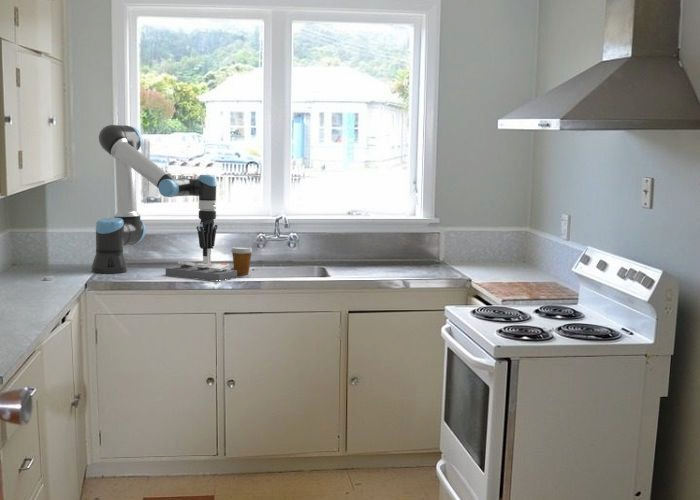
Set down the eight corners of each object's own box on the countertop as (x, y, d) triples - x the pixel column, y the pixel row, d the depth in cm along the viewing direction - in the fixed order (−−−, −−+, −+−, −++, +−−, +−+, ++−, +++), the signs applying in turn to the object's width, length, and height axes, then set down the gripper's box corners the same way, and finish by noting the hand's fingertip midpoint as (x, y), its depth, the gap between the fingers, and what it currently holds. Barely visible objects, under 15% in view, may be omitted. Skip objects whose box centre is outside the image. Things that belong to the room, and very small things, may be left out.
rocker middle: (194, 266, 370) (194, 263, 370) (203, 265, 376) (203, 262, 376) (202, 267, 368) (203, 264, 368) (212, 266, 374) (212, 263, 374)
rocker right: (212, 270, 366) (211, 267, 366) (220, 265, 372) (220, 262, 372) (220, 271, 364) (220, 268, 364) (229, 266, 370) (229, 263, 370)
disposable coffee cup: (248, 276, 377) (248, 249, 375) (227, 274, 379) (228, 248, 377) (254, 273, 386) (255, 247, 385) (234, 272, 388) (235, 246, 386)
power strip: (165, 275, 371) (165, 266, 370) (184, 271, 383) (184, 263, 383) (219, 281, 359) (219, 272, 359) (237, 277, 372) (237, 269, 371)
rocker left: (177, 263, 373) (178, 260, 373) (186, 265, 380) (187, 262, 380) (185, 264, 372) (186, 261, 372) (194, 265, 378) (195, 262, 378)
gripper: (205, 211, 363) (205, 265, 366) (223, 209, 376) (222, 262, 378) (191, 210, 367) (190, 264, 369) (209, 208, 379) (208, 261, 381)
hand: (206, 263), depth 374 cm, fingers closed, pressing on rocker middle
